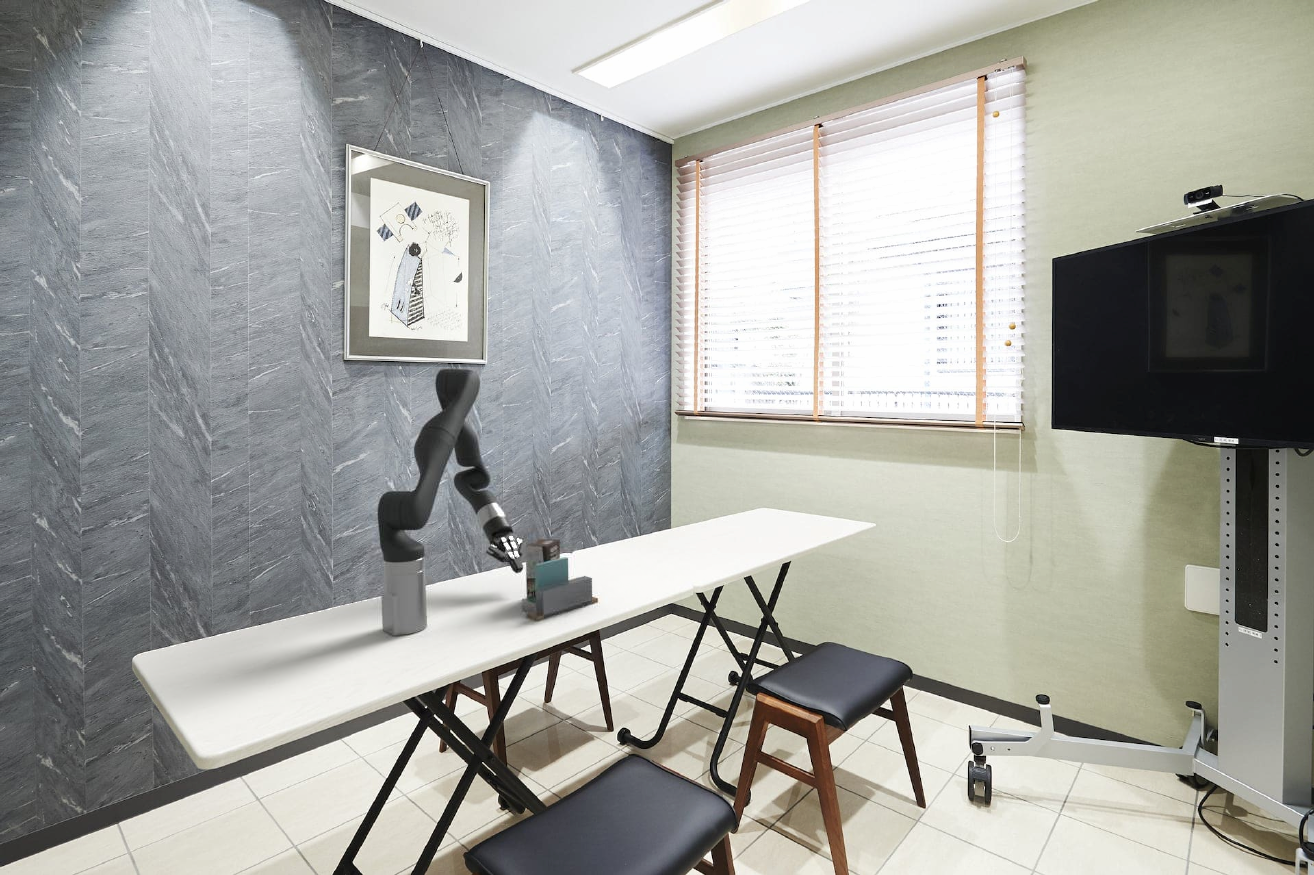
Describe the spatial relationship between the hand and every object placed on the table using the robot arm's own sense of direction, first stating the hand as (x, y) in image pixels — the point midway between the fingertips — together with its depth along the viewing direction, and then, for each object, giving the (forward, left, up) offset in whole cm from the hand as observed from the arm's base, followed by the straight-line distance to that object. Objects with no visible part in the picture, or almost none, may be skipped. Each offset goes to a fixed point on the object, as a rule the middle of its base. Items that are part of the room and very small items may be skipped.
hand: (519, 571), depth 182 cm
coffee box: (+1, -9, -7) cm, 12 cm away
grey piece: (0, -16, -7) cm, 17 cm away
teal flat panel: (-1, -15, -5) cm, 15 cm away
